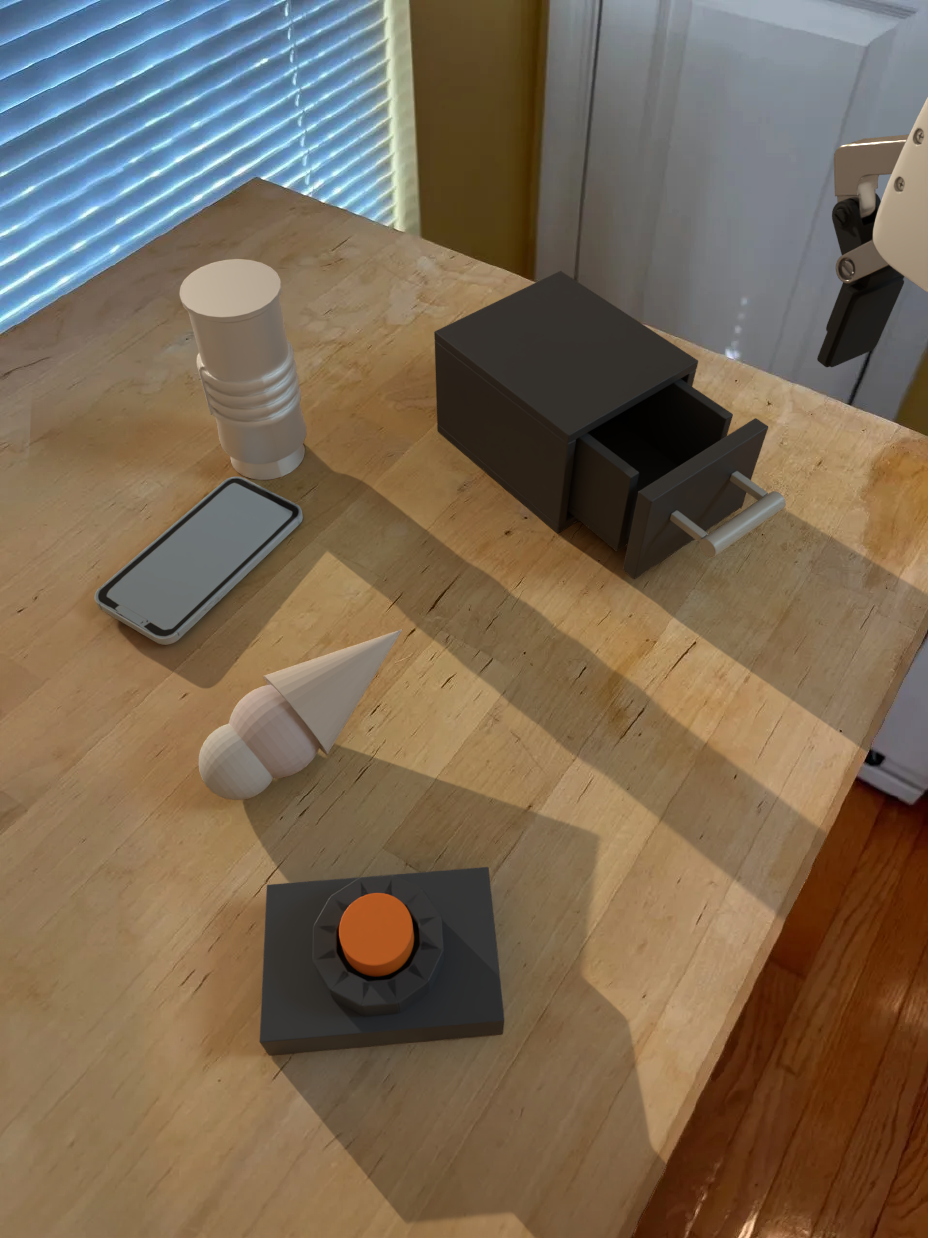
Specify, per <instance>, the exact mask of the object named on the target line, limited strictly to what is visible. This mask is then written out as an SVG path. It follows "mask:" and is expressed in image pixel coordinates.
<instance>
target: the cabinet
mask: <svg viewBox="0 0 928 1238" xmlns="http://www.w3.org/2000/svg"><path fill="white" fill-rule="evenodd" d="M433 333H434V334H433V335H434V336H433V337H434V365H435V366H434V369H435V397H436V398H435V399H436V427H437V428H436V429H437V433H439V434H440V435H441V436H442V437H443V438H444V439H446V440H447V441H448V442H449V443H450V444H452V446H454V447H455V448H456V449H457V450H458V451H460V452H461V453H462V454H464V456H466V457H467V458H468V459H469V460H470V461H471V462H473V463H474V464H475V465H476V466H477V467H479V468H480V469H481V470H482V471H483V472H484V473H485V474H487V475H488V476H489V477H490V478H492V479H493V480H494V481H495V482H496V483H497V484H499V485H500V486H501V487H502V488H503V489H505V490H506V491H507V492H508V493H509V494H511V496H513V497H514V498H515V499H516V500H517V501H519V502H520V503H521V504H522V505H523V506H524V507H526V508H527V509H528V510H529V511H530V512H531V513H533V514H534V515H535V516H536V517H537V518H538V519H540V520H541V521H542V522H543V523H544V524H546V525H547V526H548V527H549V528H550V529H552V531H554V532H555V533H556V534H559V533H561V532H563V531H564V530H565V529H567V528H569V527H570V526H572V525H574V524H575V523H577V522H578V521H579V520H578V519H577V518H576V517H574V516H573V515H572V514H571V513H570V512H568V511H567V509H568V501H569V493H570V485H571V476H572V468H573V460H574V452H575V444H576V439H577V438H579V437H581V436H582V435H584V434H586V433H588V432H589V431H591V430H593V429H594V428H596V427H598V426H600V425H601V424H603V423H605V422H607V421H608V420H610V419H612V418H613V417H615V416H617V415H619V414H620V413H622V412H624V411H626V410H627V409H629V408H631V407H632V406H634V405H636V404H638V403H639V402H641V401H643V400H645V399H646V398H648V397H650V396H651V395H653V394H655V393H657V392H658V391H660V390H662V389H664V388H665V387H667V386H669V385H670V384H672V383H674V382H676V381H677V380H679V379H682V380H683V381H684V382H686V383H687V384H689V385H690V386H692V387H694V386H693V385H694V380H695V377H696V373H697V369H698V364H699V359H697V358H695V357H694V356H692V355H690V354H689V353H687V352H686V351H685V350H683V349H682V348H680V347H678V346H677V345H675V344H674V343H672V342H670V341H669V340H668V339H666V338H664V337H663V336H662V335H660V334H658V333H657V332H655V331H654V330H652V328H649V327H647V326H646V325H645V324H644V323H642V322H640V321H638V320H637V319H635V318H634V317H632V316H631V315H629V314H628V313H626V312H624V311H623V310H622V309H621V308H618V307H617V306H616V305H614V304H612V303H611V302H610V301H608V300H606V299H605V298H604V297H602V296H600V295H598V294H597V293H595V292H594V291H592V290H591V289H589V288H588V287H587V286H585V285H583V284H582V283H581V282H578V281H577V280H575V279H574V278H573V277H572V276H569V275H568V274H566V273H565V272H563V271H562V270H559V271H557V272H555V273H553V274H551V275H548V276H546V277H544V278H543V279H540V280H538V281H536V282H534V283H532V284H530V285H528V286H526V287H524V288H522V289H519V290H517V291H515V292H513V293H512V294H509V295H507V296H505V297H503V298H500V299H499V300H496V301H495V302H492V303H490V304H488V305H486V306H484V307H482V308H480V309H478V310H476V311H474V312H472V313H470V314H468V315H465V316H464V317H461V318H460V319H457V320H455V321H453V322H451V323H449V324H447V325H445V326H442V327H440V328H438V329H437V330H434V332H433ZM579 522H580V521H579Z"/></svg>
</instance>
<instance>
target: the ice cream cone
mask: <svg viewBox="0 0 928 1238" xmlns="http://www.w3.org/2000/svg"><path fill="white" fill-rule="evenodd" d="M402 631H403V629H402V628H401V629H398V630H396V631H393V632H392V631H391V632H389V633H386V634H383V635H380V636H377V637H375V638H371V639H368V640H366V641H363V642H359V643H356V644H354V645H351V646H348V647H345V648H342V649H339V650H336V651H333V652H330V653H327V654H324V655H321V656H318V657H315V658H312V659H309V660H306V661H303V662H300V663H296V664H295V665H291V666H288V667H286V668H285V667H284V668H282V669H279V670H276V671H274V672H270V673H268V674H265V675H263V676H262V677H263V679H264V681H265V682H266V684H265V685H262V686H259V687H257V688H254V689H253V690H251V691H250V692H248V693H246V694H245V695H244V696H243V697H242V698H241V699H239V701H238V703H237V704H236V706H234V708H233V711H232V712H231V715H230V717H229V720H228V723H226V724H224V725H221V726H219V727H217V728H216V729H214V730H213V731H212V732H211V733H209V735H208V736H207V737H206V739H205V740H204V741H203V744H202V746H201V748H200V750H199V754H198V771H199V774H200V777H201V780H202V781H203V783H204V785H205V786H206V787H207V788H208V790H210V791H211V792H212V793H213V794H215V795H217V796H218V797H220V798H223V799H225V800H230V801H244V800H248V799H251V798H254V797H256V796H258V795H259V794H261V793H263V792H264V791H265V790H266V789H267V788H268V787H269V786H270V785H271V783H272V781H273V780H274V779H282V778H287V777H291V776H293V775H295V774H297V773H298V774H299V772H301V771H302V770H304V769H305V768H307V766H308V765H309V764H310V763H312V762H313V760H314V758H315V757H316V756H317V754H318V753H319V750H321V751H322V752H323V753H324V754H325V755H328V754H329V753H330V751H331V749H332V748H333V746H334V745H335V743H336V741H337V740H338V738H339V736H340V734H341V733H342V731H343V729H344V728H345V726H346V724H347V723H348V721H349V719H350V718H351V716H352V715H353V712H354V711H355V710H356V708H357V706H358V705H359V703H360V701H361V699H362V698H363V696H364V695H365V693H366V691H367V689H368V688H369V686H370V684H371V683H372V681H373V680H374V678H375V676H376V674H377V673H378V672H379V669H380V667H381V666H382V664H383V663H384V662H385V659H386V658H387V656H388V654H389V653H390V651H391V650H392V649H393V646H394V644H395V643H396V641H397V640H398V638H399V636H400V635H401V633H402Z"/></svg>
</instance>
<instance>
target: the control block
mask: <svg viewBox="0 0 928 1238" xmlns="http://www.w3.org/2000/svg"><path fill="white" fill-rule="evenodd" d="M490 878H491V877H490V868H489V866H482V867H469V868H456V869H445V870H444V869H443V870H433V871H432V870H431V871H419V872H408V873H395V874H383V875H382V874H381V875H372V876H371V875H369V876H358V877H345V878H344V877H343V878H333V879H322V880H308V881H307V880H306V881H297V882H284V883H283V882H282V883H272V884H271V883H270V884H267V885H266V891H265V892H266V895H265V917H264V937H263V938H264V939H263V961H262V964H263V965H262V980H261V1002H260V1003H261V1006H260V1009H261V1010H260V1023H259V1024H260V1027H259V1028H260V1029H259V1043H260V1045H261V1047H262V1048H263V1049H264V1051H265V1052H266V1053H267V1055H268V1056H270V1057H271V1056H278V1055H279V1056H281V1055H291V1054H302V1053H312V1052H325V1051H335V1050H347V1049H356V1048H369V1047H379V1046H390V1045H391V1046H392V1045H402V1044H414V1043H424V1042H435V1041H436V1042H437V1041H446V1040H447V1041H448V1040H459V1039H467V1038H469V1039H470V1038H480V1037H490V1036H502V1035H503V1034H504V1028H505V1010H504V1000H503V994H502V993H503V991H502V983H501V973H500V963H499V962H500V961H499V954H498V945H497V944H498V943H497V935H496V926H495V925H496V924H495V915H494V907H493V906H494V905H493V897H492V896H493V895H492V887H491V879H490ZM372 893H384V894H388V895H391V896H393V897H395V898H397V899H398V900H400V901H401V902H402V903H403V904H404V905H405V906H406V908H407V909H408V911H409V913H410V915H411V919H412V924H413V932H414V945H413V949H412V952H411V954H410V956H409V958H408V960H407V961H406V962H405V964H404V965H403V966H402V967H401V968H399V969H398V970H396V971H395V972H393V973H391V974H388V975H385V976H378V977H374V976H368V975H364V974H362V973H360V972H358V971H357V970H355V969H354V968H353V967H352V966H351V965H350V964H349V962H348V961H347V959H346V957H345V954H344V951H343V948H342V945H341V942H340V938H339V926H340V921H341V918H342V916H343V914H344V912H345V911H346V909H347V908H348V907H349V905H351V904H352V903H353V902H354V901H355V900H357V899H358V898H360V897H362V896H364V895H368V894H372Z"/></svg>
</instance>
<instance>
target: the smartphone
mask: <svg viewBox="0 0 928 1238" xmlns="http://www.w3.org/2000/svg"><path fill="white" fill-rule="evenodd" d="M303 518H304V516H303V511H302V507H301V506H300V505H299V504H297V503H295V502H293V501H291V500H289V499H287V498H285V497H283V496H281V495H280V494H277V493H275V492H272V491H271V490H270V489H267V488H265V487H263V486H260V485H258V484H257V483H255V482H253V481H251V480H249V479H246V477H243V476H231V477H227V478H226V479H224V480H223V481H222V482H221V483H220V484H219V485H217V486H216V487H215V488H214V489H213V490H212V491H210V492H209V493H208V494H207V495H205V497H204V498H202V499H201V500H200V501H199V502H198V503H196V504H195V505H193V507H192V508H191V509H190V510H188V511H187V512H186V513H185V514H183V515H182V516H181V517H180V518H179V519H178V520H177V521H175V522H174V523H173V524H172V525H171V526H170V527H168V528H167V529H166V530H165V531H164V532H163V533H162V534H160V535H159V536H158V537H157V538H156V539H154V540H153V541H152V542H151V543H150V544H149V545H147V546H146V547H145V548H144V549H142V551H140V552H139V553H138V554H137V555H136V556H134V557H133V558H132V559H131V560H130V561H129V562H128V563H126V564H125V565H124V566H123V567H122V568H121V569H119V570H118V571H117V572H116V573H114V574H113V576H111V577H110V578H109V579H107V581H106V582H104V583H103V584H102V585H101V586H100V587H98V588H97V589H96V591H95V593H94V601H95V603H96V605H97V607H98V608H99V610H101V611H103V612H104V613H106V614H107V615H109V616H111V617H113V618H114V619H116V620H118V621H119V622H121V623H123V624H124V625H126V626H128V627H129V628H131V629H133V630H135V631H137V632H138V633H140V634H141V635H143V636H144V637H146V638H148V639H150V640H151V641H153V642H155V643H156V644H158V645H172V644H174V643H176V642H177V641H179V640H180V639H182V637H183V636H184V635H185V634H187V632H188V631H190V630H191V628H193V627H194V626H195V625H196V624H197V623H198V622H199V621H200V620H201V619H202V618H203V617H204V616H205V615H206V614H208V612H209V611H210V610H211V609H212V608H214V607H215V605H217V604H218V603H219V602H220V601H221V600H222V599H223V598H224V597H225V596H226V595H227V594H228V593H229V592H230V591H231V590H232V589H233V588H235V586H237V585H238V584H239V583H240V582H241V581H242V580H243V579H244V578H245V577H246V576H247V575H248V574H249V573H250V572H252V570H254V569H255V567H257V566H258V564H260V563H261V562H262V561H263V560H264V559H265V558H266V557H267V556H268V555H269V554H270V553H271V552H272V551H273V550H274V549H275V548H276V547H277V546H278V545H280V543H282V542H283V541H284V540H285V539H286V538H287V537H288V536H289V535H290V534H291V533H292V532H293V531H294V530H295V529H296V528H297V527H298V526H299V525H301V524H302V522H303V520H304V519H303Z"/></svg>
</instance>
